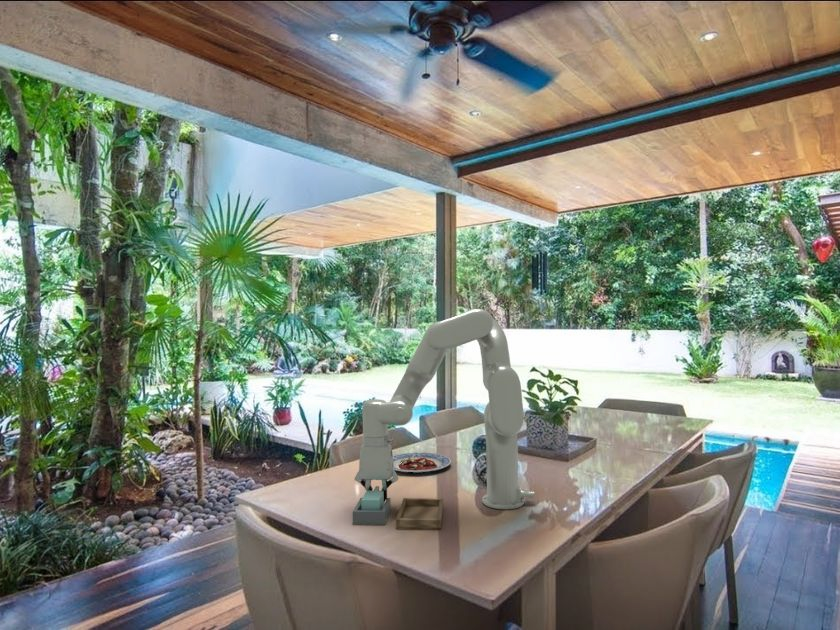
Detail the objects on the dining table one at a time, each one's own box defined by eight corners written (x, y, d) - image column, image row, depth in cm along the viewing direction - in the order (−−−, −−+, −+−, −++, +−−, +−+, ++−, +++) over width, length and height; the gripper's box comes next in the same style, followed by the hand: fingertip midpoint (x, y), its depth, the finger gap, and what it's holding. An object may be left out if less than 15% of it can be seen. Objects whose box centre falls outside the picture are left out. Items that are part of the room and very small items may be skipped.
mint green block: (386, 506, 156) (385, 486, 156) (379, 521, 144) (378, 500, 144) (369, 505, 156) (369, 486, 156) (361, 521, 144) (361, 500, 144)
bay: (390, 509, 152) (390, 498, 152) (384, 524, 141) (384, 511, 141) (361, 509, 153) (360, 497, 153) (352, 524, 142) (352, 511, 142)
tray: (443, 506, 153) (443, 498, 153) (440, 529, 137) (440, 520, 137) (403, 506, 155) (403, 498, 155) (396, 528, 138) (395, 519, 138)
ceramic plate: (462, 471, 189) (462, 463, 189) (396, 481, 180) (396, 472, 180) (434, 455, 213) (434, 447, 213) (375, 462, 204) (375, 455, 204)
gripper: (404, 438, 158) (405, 498, 157) (351, 438, 159) (353, 497, 159) (401, 444, 150) (402, 506, 150) (345, 444, 152) (347, 506, 152)
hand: (377, 501), depth 155 cm, fingers open, 3 cm apart
